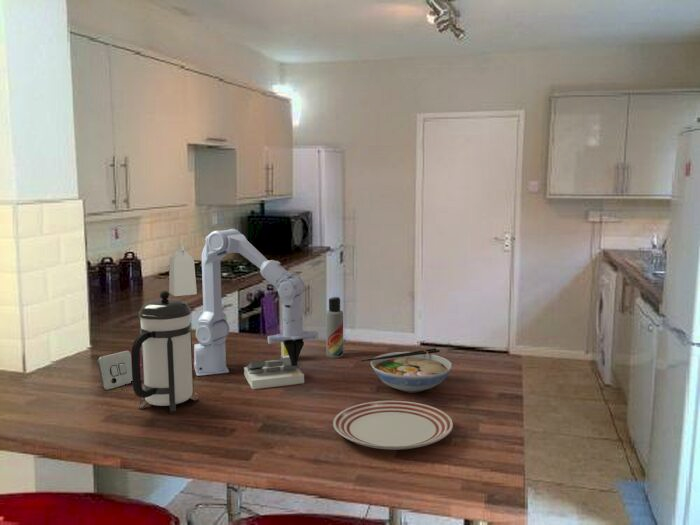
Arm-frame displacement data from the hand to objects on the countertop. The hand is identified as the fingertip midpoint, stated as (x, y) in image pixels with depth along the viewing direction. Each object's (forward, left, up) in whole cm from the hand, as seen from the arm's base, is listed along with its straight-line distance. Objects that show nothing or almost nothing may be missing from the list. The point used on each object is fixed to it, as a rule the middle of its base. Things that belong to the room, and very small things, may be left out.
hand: (294, 365), depth 167 cm
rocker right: (0, +4, -1) cm, 4 cm away
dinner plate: (+12, -42, -5) cm, 44 cm away
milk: (-20, +156, -5) cm, 157 cm away
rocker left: (-10, +4, -1) cm, 11 cm away
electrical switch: (-49, +15, -5) cm, 51 cm away
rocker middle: (-5, +4, -1) cm, 7 cm away
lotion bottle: (+19, +20, -5) cm, 28 cm away
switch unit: (-5, +4, -5) cm, 8 cm away
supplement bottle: (+4, +22, -5) cm, 23 cm away
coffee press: (-36, -7, -5) cm, 37 cm away
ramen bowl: (+29, -17, -5) cm, 34 cm away
